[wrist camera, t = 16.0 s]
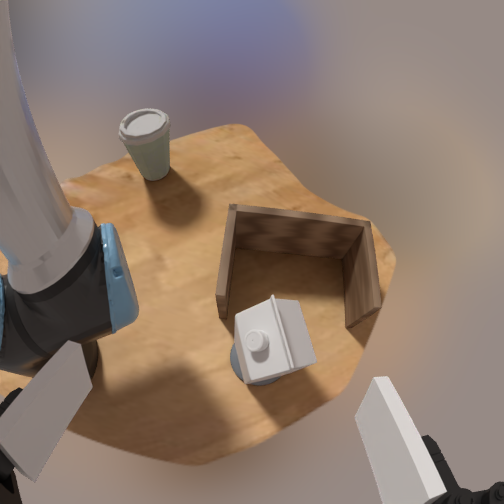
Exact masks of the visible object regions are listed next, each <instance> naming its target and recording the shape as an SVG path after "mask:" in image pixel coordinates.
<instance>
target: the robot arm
mask: <svg viewBox="0 0 504 504" xmlns="http://www.w3.org/2000/svg"><path fill="white" fill-rule="evenodd" d="M0 250H1V251H2V253H3V254H4V255H5V257H6V258H7V259H8V274H6V275H1V274H0V370H4V371H8V372H11V373H15V374H19V375H23V376H28V377H32V378H33V379H32V380H31V381H30V382H29V383H28V385H27V386H26V387H25V388H24V389H21V388H17V389H16V390H14V391H12V392H10V393H9V395H8V396H7V397H6V398H5V399H4V402H2V403H1V404H0V504H22V501H21V498H20V494H19V489H18V485H17V480H16V476H15V473H14V471H13V469H14V467H16V469H18V471H19V472H20V473H21V474H23V475H24V476H26V477H27V478H29V479H30V480H32V481H33V482H36V480H37V478H38V476H39V474H40V473H41V471H42V469H43V467H44V465H45V464H46V462H47V460H48V458H49V457H50V455H51V453H52V451H53V450H54V448H55V446H56V445H57V443H58V441H59V440H60V438H61V436H62V435H63V433H64V431H65V430H66V428H67V427H68V425H69V423H70V422H71V420H72V418H73V417H74V415H75V414H76V412H77V411H78V409H79V407H80V406H81V404H82V403H83V401H84V400H85V398H86V397H87V395H88V394H89V392H90V390H91V389H92V387H93V386H92V383H91V378H92V376H93V374H94V372H95V369H96V365H97V358H98V350H97V343H96V340H97V339H100V338H102V337H105V336H107V335H110V334H115V333H116V331H117V330H119V329H121V328H123V327H125V326H127V325H129V324H131V323H133V322H134V321H135V320H136V319H137V317H138V313H139V305H138V300H137V296H136V292H135V289H134V285H133V281H132V278H131V274H130V271H129V268H128V264H127V261H126V258H125V254H124V251H123V248H122V245H121V242H120V239H119V236H118V233H117V230H116V228H115V227H114V225H113V224H112V223H107V224H104V223H103V224H101V225H100V226H99V227H97V225H96V223H95V221H94V219H93V217H92V216H91V214H90V213H89V212H88V211H87V210H85V209H83V208H78V207H72V206H70V204H69V202H68V200H67V198H66V196H65V194H64V192H63V190H62V188H61V186H60V184H59V182H58V180H57V178H56V175H55V173H54V171H53V169H52V166H51V164H50V162H49V159H48V157H47V154H46V152H45V150H44V147H43V145H42V142H41V140H40V137H39V134H38V132H37V129H36V126H35V123H34V120H33V117H32V114H31V111H30V108H29V105H28V102H27V98H26V95H25V92H24V88H23V84H22V81H21V77H20V73H19V69H18V64H17V60H16V55H15V50H14V45H13V39H12V33H11V26H10V19H9V8H8V0H0ZM355 420H356V423H357V426H358V429H359V432H360V434H361V437H362V440H363V443H364V446H365V449H366V452H367V455H368V458H369V461H370V464H371V468H372V471H373V474H374V477H375V480H376V483H377V487H378V490H379V493H380V496H381V500H382V503H383V504H504V482H497V483H495V484H494V485H493V486H492V487H490V489H488V490H484V491H478V492H471V491H470V490H468V489H464V488H460V487H459V486H458V484H457V482H456V480H455V478H454V476H453V474H452V472H451V470H450V468H449V466H448V464H447V462H446V461H445V460H444V459H445V458H444V456H443V454H442V453H441V450H440V449H439V447H438V445H437V443H436V442H435V441H434V440H433V439H432V438H431V437H430V436H429V435H426V436H422V437H421V436H420V435H419V433H418V431H417V429H416V427H415V425H414V423H413V421H412V419H411V417H410V416H409V414H408V412H407V410H406V408H405V406H404V404H403V403H402V401H401V399H400V397H399V395H398V394H397V392H396V390H395V388H394V386H393V385H392V383H391V381H390V379H389V378H388V376H384V377H374V378H373V379H372V382H371V384H370V386H369V388H368V391H367V393H366V395H365V397H364V399H363V401H362V403H361V405H360V407H359V409H358V411H357V413H356V415H355Z"/></svg>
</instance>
